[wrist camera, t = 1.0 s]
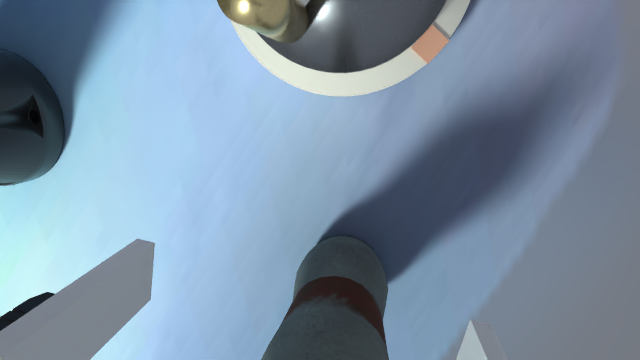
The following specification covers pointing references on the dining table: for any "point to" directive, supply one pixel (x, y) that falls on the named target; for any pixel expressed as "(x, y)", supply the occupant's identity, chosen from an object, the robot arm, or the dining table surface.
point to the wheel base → (368, 78)
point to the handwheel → (336, 29)
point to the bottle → (335, 306)
